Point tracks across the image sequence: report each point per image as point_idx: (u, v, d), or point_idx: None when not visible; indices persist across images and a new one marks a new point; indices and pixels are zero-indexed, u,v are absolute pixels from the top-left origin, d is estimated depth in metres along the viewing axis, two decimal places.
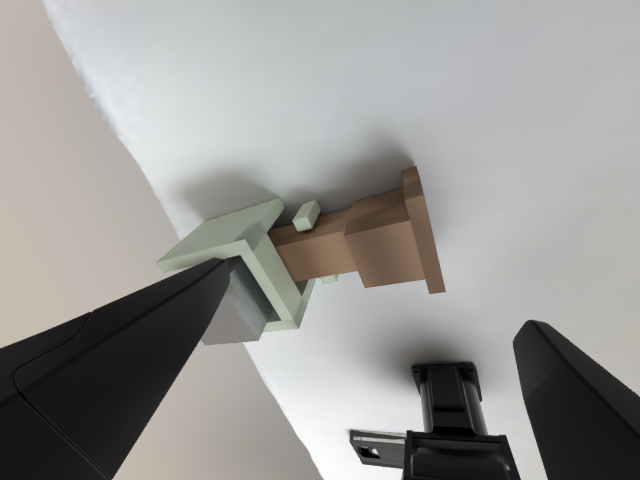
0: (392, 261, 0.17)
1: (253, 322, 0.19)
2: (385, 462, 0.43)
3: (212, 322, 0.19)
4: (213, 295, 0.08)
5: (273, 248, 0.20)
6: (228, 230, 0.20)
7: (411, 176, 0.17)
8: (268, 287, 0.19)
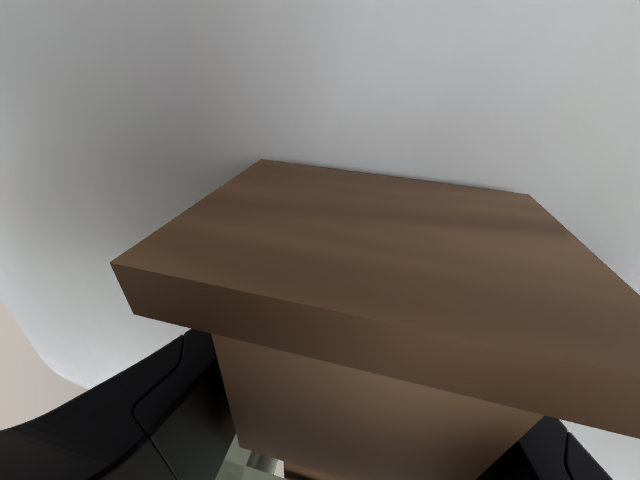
0: (373, 434, 0.04)
1: None
2: None
3: None
4: None
5: None
6: None
7: None
8: None
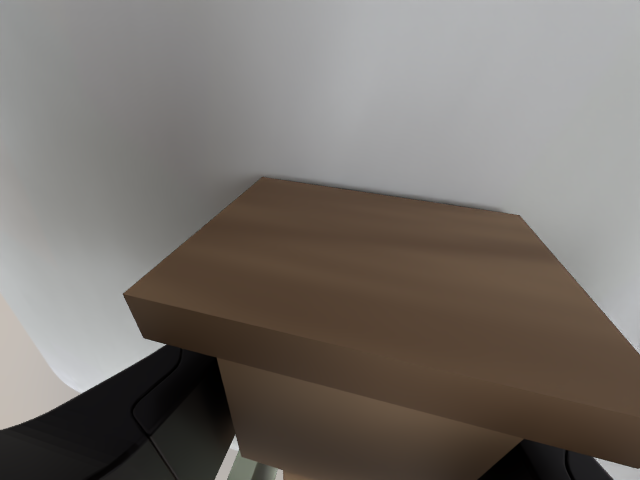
0: (367, 449, 0.05)
1: None
2: None
3: None
4: None
5: None
6: None
7: None
8: None
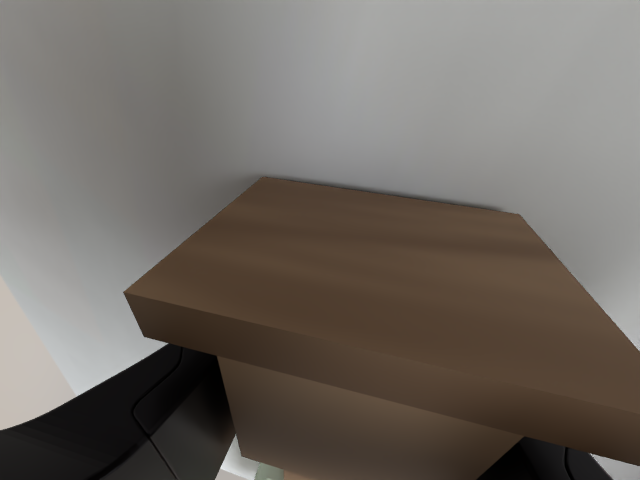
0: (368, 448, 0.05)
1: None
2: None
3: None
4: None
5: None
6: None
7: None
8: None
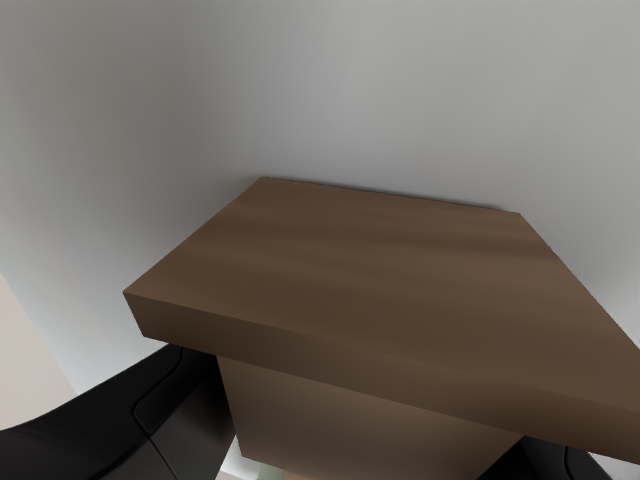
0: (368, 447, 0.05)
1: None
2: None
3: None
4: None
5: None
6: None
7: None
8: None
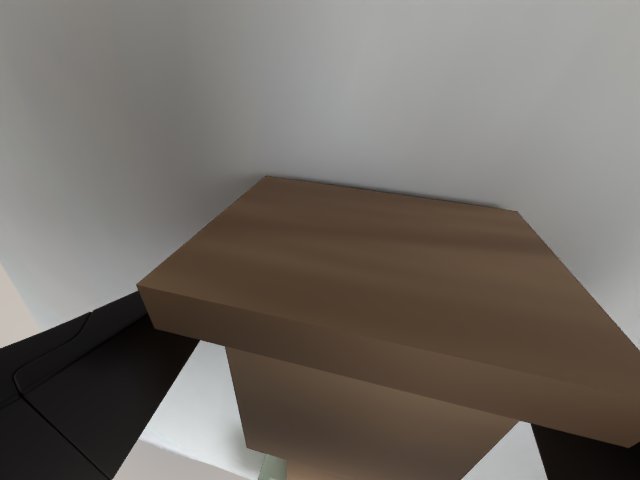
0: (370, 436, 0.05)
1: None
2: None
3: None
4: None
5: None
6: None
7: None
8: None
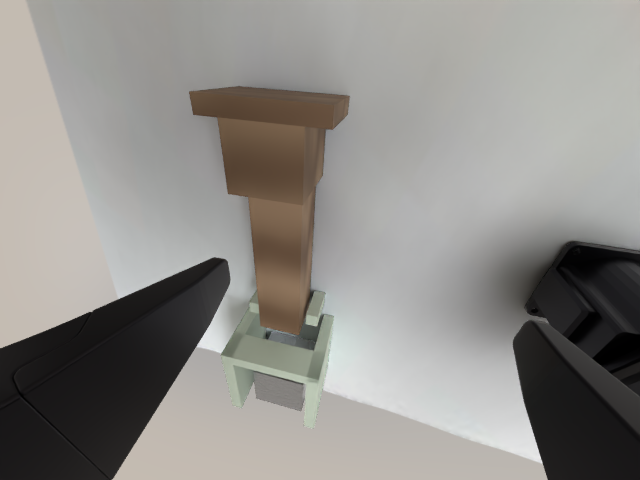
0: (270, 157, 0.14)
1: (290, 405, 0.28)
2: None
3: None
4: (213, 295, 0.08)
5: (257, 339, 0.24)
6: None
7: None
8: (266, 369, 0.22)
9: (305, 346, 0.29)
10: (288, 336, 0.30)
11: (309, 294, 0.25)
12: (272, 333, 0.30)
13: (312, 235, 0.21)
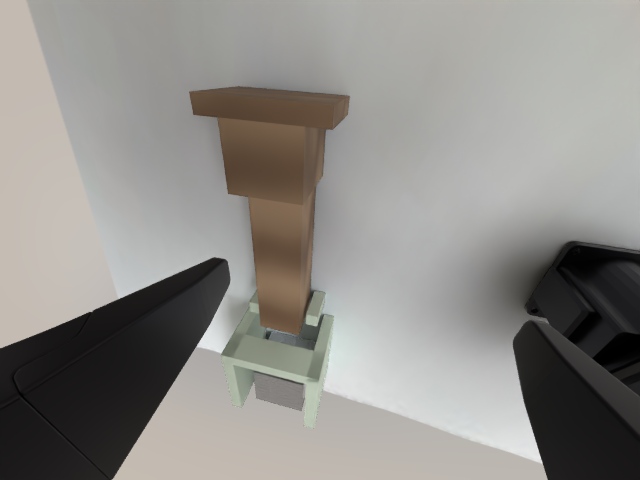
0: (270, 157, 0.14)
1: (290, 405, 0.28)
2: None
3: None
4: (213, 295, 0.08)
5: (257, 339, 0.24)
6: None
7: None
8: (266, 369, 0.22)
9: (305, 346, 0.29)
10: (288, 336, 0.30)
11: (309, 294, 0.25)
12: (272, 333, 0.30)
13: (312, 235, 0.21)
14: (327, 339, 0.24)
